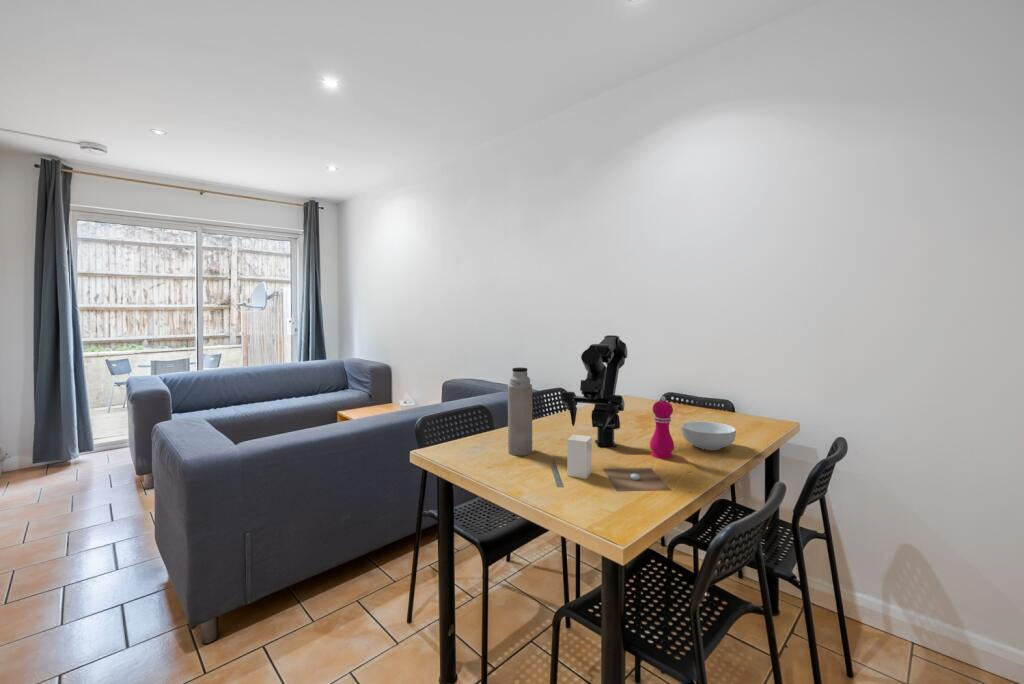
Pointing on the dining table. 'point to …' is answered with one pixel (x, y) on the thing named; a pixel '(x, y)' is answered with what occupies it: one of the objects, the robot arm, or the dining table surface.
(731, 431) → the cereal bowl
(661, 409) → the pepper mill
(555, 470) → the flat grey strip
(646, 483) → the board
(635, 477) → the small grey round piece
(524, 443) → the thermos bottle
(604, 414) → the robot arm
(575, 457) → the cover
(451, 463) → the dining table surface
